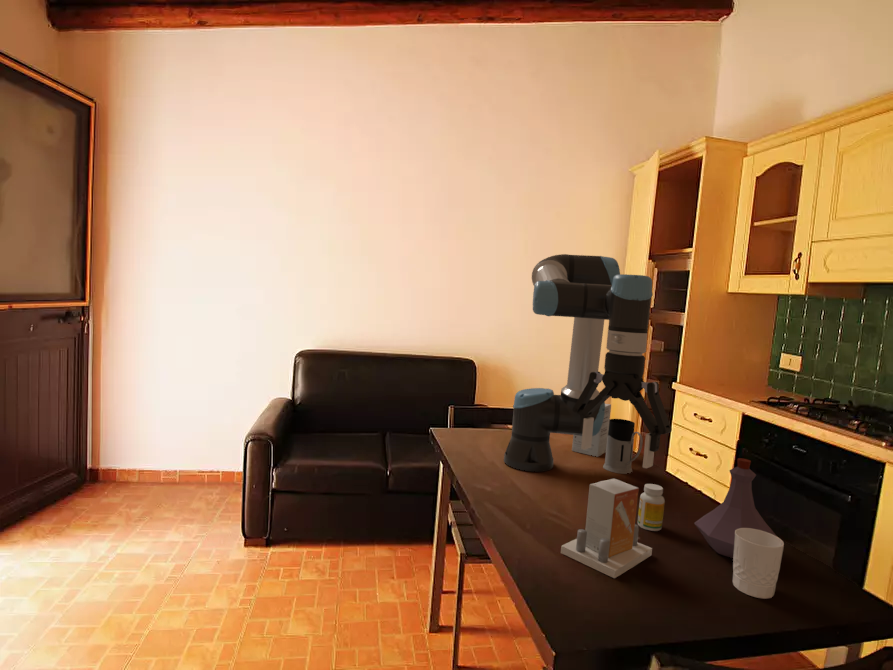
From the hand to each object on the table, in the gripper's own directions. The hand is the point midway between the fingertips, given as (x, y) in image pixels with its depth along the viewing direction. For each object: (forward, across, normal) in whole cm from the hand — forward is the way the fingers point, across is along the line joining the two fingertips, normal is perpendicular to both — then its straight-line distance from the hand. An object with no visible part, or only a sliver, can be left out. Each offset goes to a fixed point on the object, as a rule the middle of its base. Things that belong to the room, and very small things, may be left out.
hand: (615, 457), depth 108 cm
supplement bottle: (+21, -1, +21) cm, 29 cm away
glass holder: (+21, -25, +53) cm, 62 cm away
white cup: (+20, +24, +11) cm, 34 cm away
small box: (+19, 0, 0) cm, 19 cm away
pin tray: (+20, 0, 0) cm, 20 cm away
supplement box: (+21, -43, +63) cm, 79 cm away
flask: (+21, +16, +25) cm, 36 cm away
